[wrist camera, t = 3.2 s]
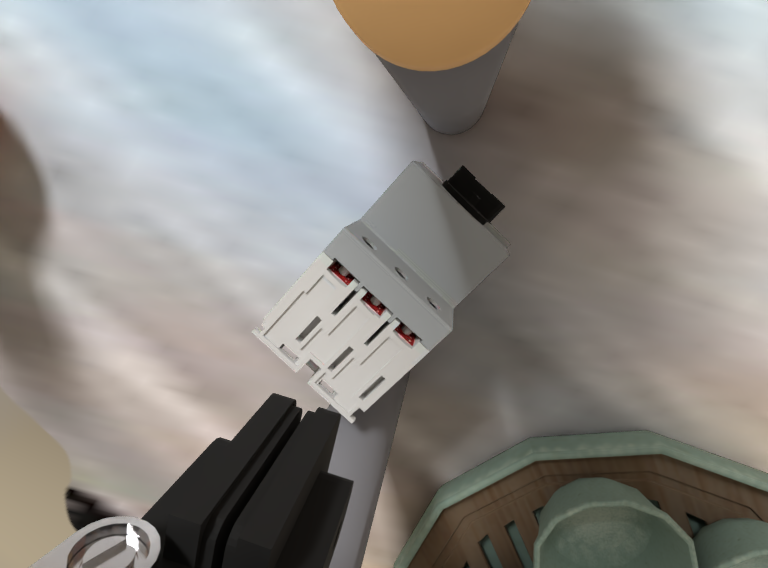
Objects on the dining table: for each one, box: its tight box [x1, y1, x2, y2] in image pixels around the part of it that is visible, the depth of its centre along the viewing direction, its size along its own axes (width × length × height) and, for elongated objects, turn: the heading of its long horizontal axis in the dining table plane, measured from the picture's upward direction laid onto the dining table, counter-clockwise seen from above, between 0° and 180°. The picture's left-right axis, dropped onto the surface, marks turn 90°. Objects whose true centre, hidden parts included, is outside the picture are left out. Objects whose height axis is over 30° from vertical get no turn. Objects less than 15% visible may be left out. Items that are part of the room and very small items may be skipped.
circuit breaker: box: [252, 161, 510, 424], centre depth 30 cm, size 8×14×15 cm, turn 137°
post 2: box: [333, 0, 531, 134], centre depth 22 cm, size 5×5×25 cm
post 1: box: [327, 370, 410, 568], centre depth 28 cm, size 5×5×25 cm
